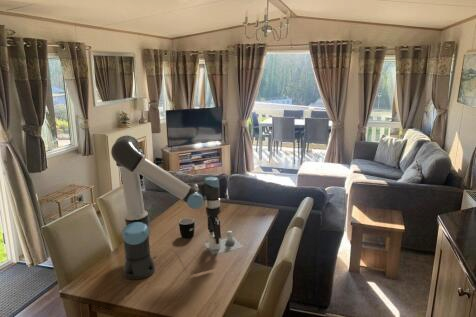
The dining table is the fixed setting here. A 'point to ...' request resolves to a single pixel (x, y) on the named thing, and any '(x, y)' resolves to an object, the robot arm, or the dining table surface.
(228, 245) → the post board
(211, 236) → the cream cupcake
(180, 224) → the mug
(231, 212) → the dining table surface
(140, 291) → the dining table surface
